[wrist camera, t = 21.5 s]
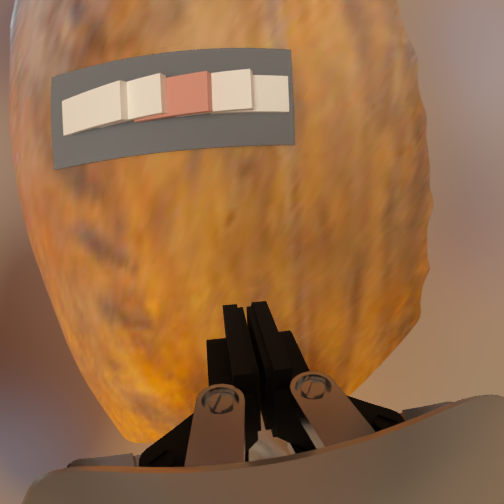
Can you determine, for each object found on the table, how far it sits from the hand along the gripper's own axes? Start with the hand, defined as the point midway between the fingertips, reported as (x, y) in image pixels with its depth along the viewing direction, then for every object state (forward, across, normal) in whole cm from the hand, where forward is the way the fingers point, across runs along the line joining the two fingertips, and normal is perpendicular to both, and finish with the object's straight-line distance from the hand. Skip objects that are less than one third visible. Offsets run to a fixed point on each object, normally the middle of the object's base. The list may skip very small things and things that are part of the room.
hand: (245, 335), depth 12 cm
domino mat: (+31, +6, -14) cm, 35 cm away
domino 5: (+30, 0, -14) cm, 33 cm away
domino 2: (+30, +15, -14) cm, 36 cm away
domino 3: (+30, +10, -14) cm, 34 cm away
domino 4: (+30, +5, -14) cm, 33 cm away
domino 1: (+30, +20, -14) cm, 38 cm away
